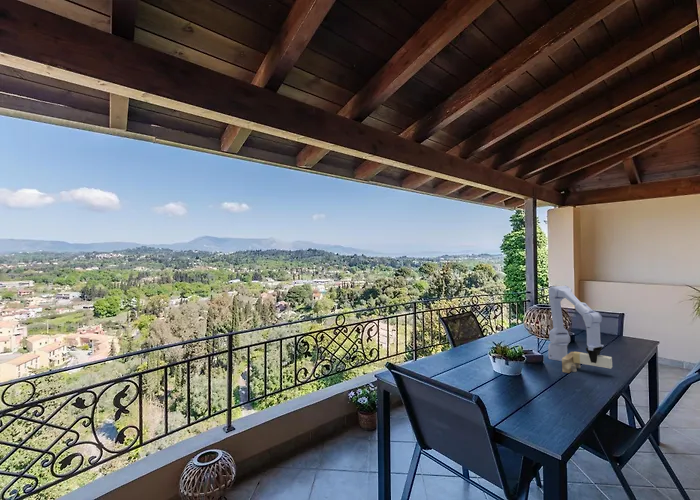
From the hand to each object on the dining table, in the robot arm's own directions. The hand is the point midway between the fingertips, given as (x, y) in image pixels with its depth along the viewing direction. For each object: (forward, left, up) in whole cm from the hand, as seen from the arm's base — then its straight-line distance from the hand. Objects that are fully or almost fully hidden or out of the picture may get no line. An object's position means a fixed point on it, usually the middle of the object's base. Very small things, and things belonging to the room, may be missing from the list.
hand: (594, 361), depth 170 cm
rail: (-1, 0, -2) cm, 2 cm away
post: (-11, 0, -6) cm, 13 cm away
